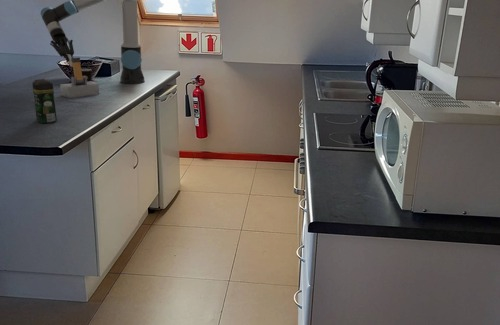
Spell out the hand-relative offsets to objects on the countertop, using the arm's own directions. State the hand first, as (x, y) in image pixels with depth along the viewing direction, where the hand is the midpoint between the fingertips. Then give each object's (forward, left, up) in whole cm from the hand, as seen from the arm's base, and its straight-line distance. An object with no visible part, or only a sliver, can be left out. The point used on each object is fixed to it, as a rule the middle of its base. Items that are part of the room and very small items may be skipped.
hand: (72, 65), depth 273 cm
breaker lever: (-2, +6, -9) cm, 11 cm away
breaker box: (-2, +6, -16) cm, 17 cm away
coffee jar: (+24, +57, -16) cm, 64 cm away
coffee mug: (-8, -18, -16) cm, 25 cm away
